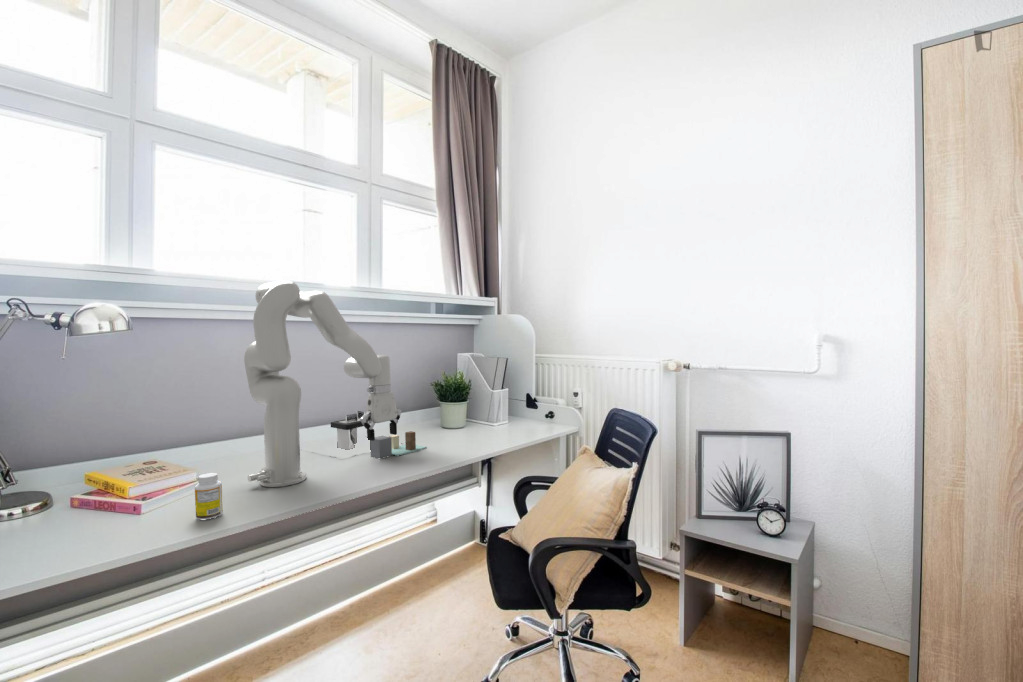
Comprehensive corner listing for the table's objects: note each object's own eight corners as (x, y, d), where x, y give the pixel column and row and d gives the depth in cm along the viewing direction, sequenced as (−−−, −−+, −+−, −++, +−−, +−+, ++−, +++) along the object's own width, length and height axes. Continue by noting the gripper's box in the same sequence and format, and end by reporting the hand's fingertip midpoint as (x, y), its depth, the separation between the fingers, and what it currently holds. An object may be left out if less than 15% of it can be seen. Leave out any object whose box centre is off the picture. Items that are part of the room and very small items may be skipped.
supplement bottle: (205, 512, 120) (204, 471, 120) (227, 512, 120) (226, 471, 120) (190, 521, 115) (188, 478, 114) (213, 521, 115) (212, 478, 114)
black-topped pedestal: (341, 460, 169) (340, 422, 168) (300, 450, 184) (299, 415, 184) (403, 444, 191) (403, 410, 191) (362, 436, 207) (362, 405, 206)
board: (397, 456, 172) (396, 441, 172) (378, 452, 178) (378, 438, 178) (426, 448, 183) (426, 434, 183) (408, 444, 189) (408, 431, 189)
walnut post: (410, 450, 177) (409, 433, 177) (405, 449, 179) (405, 432, 179) (415, 449, 179) (415, 432, 179) (411, 448, 181) (410, 431, 181)
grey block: (379, 458, 169) (379, 440, 168) (370, 456, 172) (370, 438, 172) (391, 455, 173) (391, 437, 173) (382, 453, 176) (382, 435, 176)
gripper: (366, 393, 163) (368, 443, 164) (406, 386, 177) (408, 433, 177) (352, 392, 167) (355, 441, 168) (392, 385, 181) (395, 431, 182)
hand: (382, 437), depth 173 cm, fingers open, 9 cm apart
